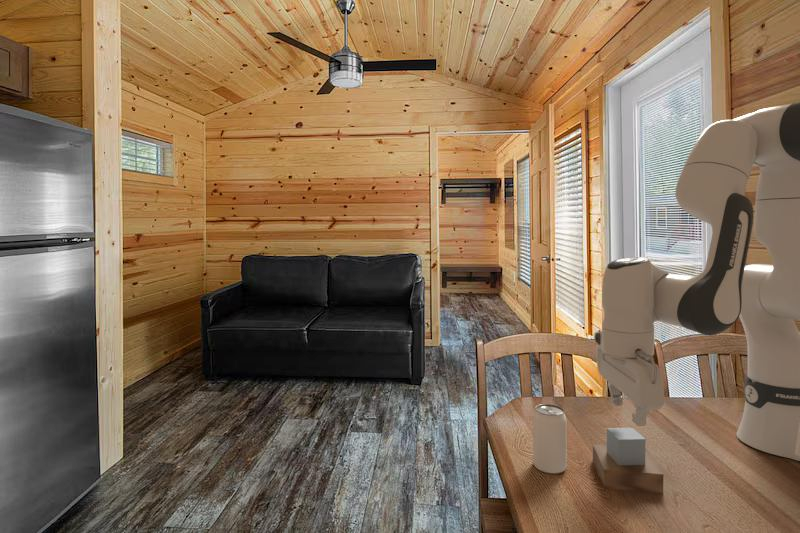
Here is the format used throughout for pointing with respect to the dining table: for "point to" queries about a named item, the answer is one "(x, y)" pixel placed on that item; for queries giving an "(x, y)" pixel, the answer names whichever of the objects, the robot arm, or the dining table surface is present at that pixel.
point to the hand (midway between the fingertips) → (627, 413)
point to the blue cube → (626, 446)
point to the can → (549, 439)
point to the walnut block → (627, 473)
